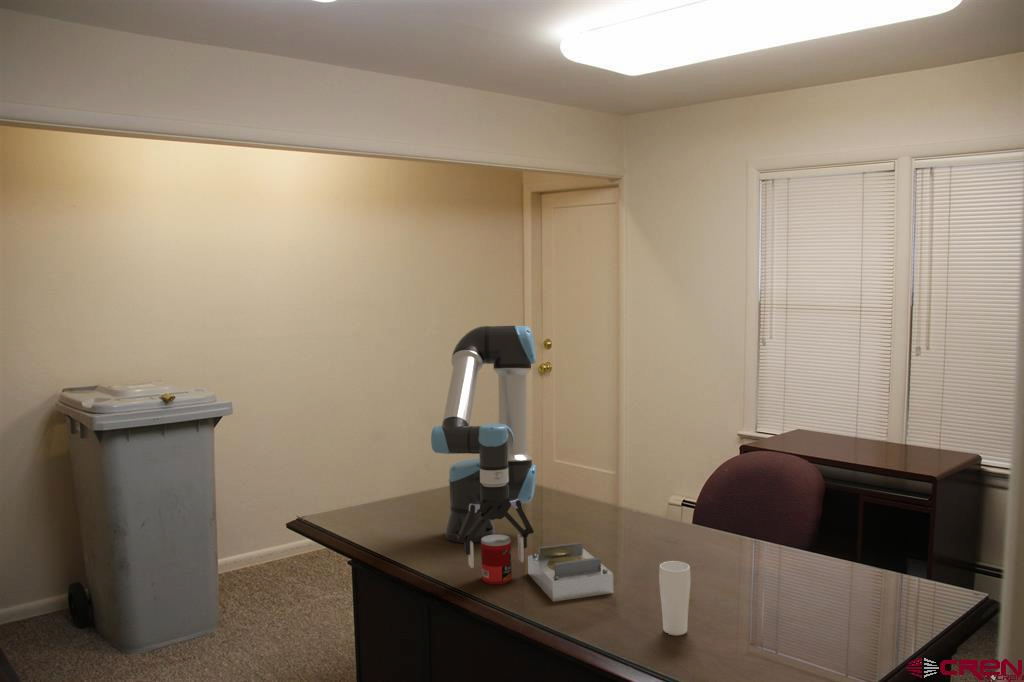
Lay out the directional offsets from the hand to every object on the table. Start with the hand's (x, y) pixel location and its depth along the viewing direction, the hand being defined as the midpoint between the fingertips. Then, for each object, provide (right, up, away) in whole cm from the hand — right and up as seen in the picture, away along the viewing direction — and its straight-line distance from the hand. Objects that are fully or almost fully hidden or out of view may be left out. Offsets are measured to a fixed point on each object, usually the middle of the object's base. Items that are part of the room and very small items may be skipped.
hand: (496, 563), depth 217 cm
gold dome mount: (+19, -4, -3) cm, 20 cm away
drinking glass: (+41, -7, -33) cm, 53 cm away
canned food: (0, -5, +1) cm, 5 cm away
